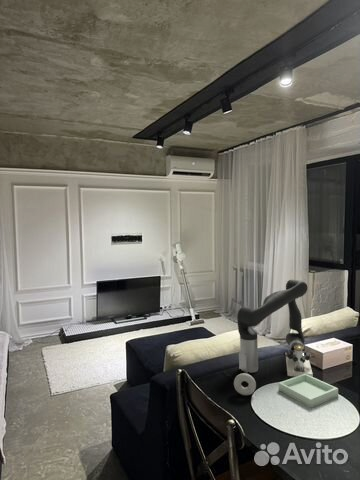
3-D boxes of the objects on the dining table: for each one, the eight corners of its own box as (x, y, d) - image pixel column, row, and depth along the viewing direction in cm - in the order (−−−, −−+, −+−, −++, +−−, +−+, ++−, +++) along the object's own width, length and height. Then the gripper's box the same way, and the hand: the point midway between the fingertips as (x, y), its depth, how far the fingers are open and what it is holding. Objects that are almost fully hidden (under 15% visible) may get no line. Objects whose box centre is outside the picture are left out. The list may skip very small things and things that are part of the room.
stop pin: (299, 375, 166) (299, 348, 166) (292, 372, 170) (292, 346, 170) (305, 373, 168) (305, 347, 168) (298, 370, 172) (298, 344, 172)
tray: (310, 407, 137) (310, 399, 137) (278, 390, 153) (278, 382, 153) (338, 396, 146) (338, 388, 145) (305, 380, 161) (305, 373, 161)
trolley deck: (312, 377, 164) (312, 374, 164) (287, 375, 167) (287, 371, 167) (308, 360, 185) (308, 357, 185) (286, 359, 188) (285, 355, 188)
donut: (233, 396, 149) (233, 374, 148) (234, 392, 152) (233, 371, 152) (256, 397, 146) (255, 375, 146) (256, 394, 150) (255, 372, 150)
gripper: (283, 341, 185) (284, 352, 168) (310, 342, 181) (314, 354, 164) (284, 354, 185) (285, 366, 168) (310, 356, 181) (314, 369, 164)
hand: (299, 360), depth 166 cm, fingers closed on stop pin, 3 cm apart
